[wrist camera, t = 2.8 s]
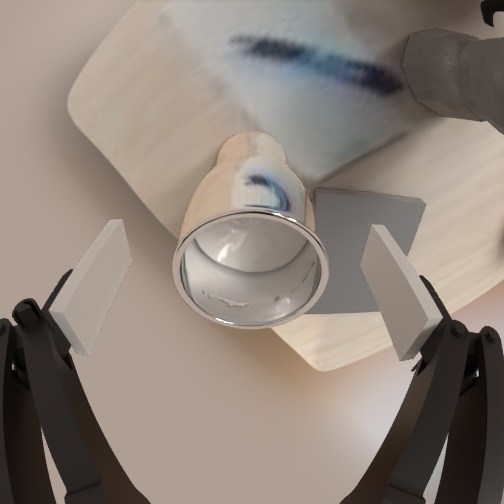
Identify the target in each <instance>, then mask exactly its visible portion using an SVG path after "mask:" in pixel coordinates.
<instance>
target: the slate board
mask: <svg viewBox="0 0 504 504" xmlns="http://www.w3.org/2000/svg"><path fill="white" fill-rule="evenodd" d="M313 205H314V208H315V211H316V214H317V217H318V220H319V224H320V228H321V232H322V236H323V241H324V247H325V250H326V253H327V256H328V260H329V278H328V282H327V285H326V288H325V290H324V292H323V294H322V295H321V297H320V298H319V300H318V301H317V302H316V303H315V304H314V305H313V306H312V307H311V308H310V309H309V310H308V311H307V312H305V313H304V314H330V313H358V312H378V311H380V310H379V307H378V305H377V303H376V300H375V298H374V296H373V293H372V291H371V289H370V287H369V284H368V282H367V280H366V278H365V276H364V274H363V271H362V269H361V267H360V263H361V259H362V256H363V253H364V250H365V246H366V243H367V240H368V236H369V233H370V229H371V225H372V224H375V225H384V226H385V227H386V229H387V230H388V231H389V233H390V234H391V236H392V237H393V238H394V240H395V241H396V243H397V244H398V245H399V247H400V248H401V250H402V251H403V253H404V254H405V256H406V257H407V255H408V253H409V250H410V248H411V245H412V243H413V240H414V237H415V235H416V232H417V229H418V226H419V224H420V221H421V218H422V215H423V212H424V209H425V206H426V204H425V203H424V202H423V201H422V200H421V199H419V198H412V197H404V196H397V195H389V194H380V193H371V192H362V191H352V190H341V189H329V188H316V191H315V198H314V204H313Z"/></svg>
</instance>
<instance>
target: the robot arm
mask: <svg viewBox="0 0 504 504" xmlns="http://www.w3.org/2000/svg"><path fill="white" fill-rule="evenodd" d="M131 263H132V256H131V253H130V249H129V245H128V241H127V236H126V232H125V228H124V224H123V219H112V220H110V221H109V222H108V223H107V224H106V226H105V227H104V228H103V229H102V231H101V232H100V233H99V235H98V236H97V237H96V239H95V240H94V241H93V243H92V244H91V246H90V247H89V248H88V250H87V251H86V253H85V254H84V255H83V257H82V258H81V260H80V261H79V263H78V264H77V266H76V267H75V269H74V270H72V269H70V270H69V271H68V272H67V273H66V274H64V275H63V276H62V278H61V279H60V281H59V282H58V285H57V286H56V287H55V289H54V292H52V293H51V295H50V297H49V298H48V300H47V302H46V303H45V305H44V307H43V308H42V310H40V308H39V306H38V305H37V303H36V301H35V300H34V299H31V298H28V299H24V300H22V301H21V302H20V303H18V304H17V306H15V308H14V310H13V313H12V317H13V318H14V320H15V321H16V323H17V324H18V325H17V326H13V325H12V324H11V323H10V321H9V320H8V319H6V318H2V319H0V504H56V501H55V497H54V494H53V490H52V486H51V482H50V478H49V473H48V469H47V464H46V459H45V453H44V447H43V440H42V432H41V427H42V430H43V433H44V436H45V439H46V442H47V445H48V448H49V450H50V453H51V455H52V458H53V460H54V462H55V465H56V467H57V470H58V472H59V474H60V476H61V478H62V480H63V483H64V485H65V487H66V490H67V493H66V495H65V497H64V499H65V504H151V503H150V502H149V501H148V499H147V498H146V497H145V496H144V495H143V494H141V493H140V492H139V491H138V490H137V489H136V488H135V487H134V485H133V484H132V482H131V481H130V479H129V478H128V476H127V474H126V473H125V471H124V470H123V468H122V466H121V465H120V463H119V461H118V460H117V458H116V456H115V455H114V453H113V451H112V449H111V448H110V446H109V444H108V442H107V440H106V438H105V436H104V434H103V432H102V430H101V428H100V426H99V424H98V422H97V420H96V418H95V416H94V413H93V412H92V409H91V407H90V404H89V402H88V400H87V397H86V395H85V393H84V390H83V387H82V385H81V382H80V380H79V377H78V374H77V371H76V369H75V366H74V363H73V360H72V357H71V355H70V353H69V352H68V351H69V349H70V347H71V346H72V347H73V349H74V350H75V352H76V353H78V354H82V355H87V356H91V353H92V351H93V348H94V345H95V343H96V340H97V338H98V335H99V333H100V331H101V328H102V326H103V323H104V321H105V319H106V316H107V314H108V312H109V309H110V307H111V305H112V303H113V301H114V299H115V296H116V294H117V292H118V290H119V288H120V286H121V284H122V281H123V280H124V277H125V275H126V273H127V271H128V269H129V267H130V265H131ZM360 267H361V269H362V271H363V274H364V276H365V278H366V280H367V282H368V284H369V287H370V289H371V291H372V293H373V296H374V298H375V300H376V303H377V305H378V307H379V310H380V312H381V314H382V317H383V319H384V322H385V324H386V327H387V329H388V332H389V334H390V337H391V339H392V342H393V345H394V347H395V350H396V352H397V355H398V358H399V361H404V360H409V359H413V358H414V357H415V356H416V355H417V353H418V352H419V351H420V353H421V355H422V358H421V359H420V360H419V362H418V363H417V364H416V365H415V366H414V367H413V369H412V370H411V371H414V370H415V369H416V371H415V373H414V376H413V379H412V381H411V384H410V386H409V389H408V391H407V394H406V396H405V398H404V401H403V403H402V405H401V407H400V410H399V412H398V414H397V416H396V418H395V420H394V422H393V424H392V426H391V428H390V430H389V432H388V434H387V436H386V438H385V440H384V442H383V443H382V445H381V447H380V449H379V451H378V452H377V454H376V456H375V458H374V459H373V461H372V463H371V464H370V466H369V468H368V469H367V471H366V472H365V474H364V475H363V477H362V479H361V480H360V482H359V483H358V485H357V486H356V487H355V489H354V490H353V491H352V492H351V493H350V494H349V495H348V496H346V497H345V498H344V499H343V500H342V501H341V502H340V504H425V502H426V500H425V499H424V497H423V493H424V490H425V488H426V486H427V484H428V482H429V480H430V477H431V475H432V473H433V471H434V468H435V466H436V464H437V461H438V459H439V456H440V454H441V451H442V449H443V446H444V443H445V440H446V438H447V435H448V442H447V448H446V454H445V460H444V465H443V470H442V475H441V480H440V484H439V488H438V492H437V496H436V499H435V503H434V504H500V503H501V499H502V493H503V488H504V355H503V350H502V344H501V339H500V337H499V334H498V333H497V331H495V329H493V328H492V327H490V326H485V327H483V328H482V329H481V331H480V332H479V333H473V332H468V329H467V328H466V327H465V325H464V324H462V323H461V322H459V321H457V320H452V319H451V317H450V315H449V313H448V311H447V310H446V308H445V306H444V305H443V303H442V301H441V300H440V298H439V296H438V295H437V293H436V292H435V290H434V288H433V286H432V285H431V283H430V282H429V281H428V280H427V279H426V278H425V277H424V276H422V275H420V276H418V274H417V272H416V271H415V269H414V268H413V266H412V265H411V263H410V262H409V260H408V259H407V257H406V256H405V254H404V253H403V251H402V250H401V248H400V247H399V245H398V244H397V243H396V241H395V240H394V238H393V237H392V236H391V234H390V233H389V231H388V230H387V229H386V227H385V226H384V225H375V224H372V225H371V229H370V233H369V236H368V240H367V243H366V246H365V250H364V253H363V256H362V259H361V263H360ZM12 364H13V365H14V370H12ZM478 370H479V376H478V377H477V374H476V372H477V371H478ZM448 432H449V433H448Z"/></svg>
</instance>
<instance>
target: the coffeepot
mask: <svg viewBox="0 0 504 504" xmlns="http://www.w3.org/2000/svg"><path fill="white" fill-rule="evenodd" d="M481 11H482V15H483V19H484V22H485V23H486V24H488V25H490V26H492V27H494V25H493V14H494V13H495V12H497V11H503V12H504V0H484V1H482V2H481ZM402 67H403V70H404V73H405V76H406V79H407V82H408V84H409V86H410V89H411V90H412V92H413V94H414V97H415V100H416V101H418V102H420V103H421V104H423V105H424V106H426V107H427V108H429V109H431V110H433V111H434V112H436V113H437V114H439V115H440V116H442V117H451V118H459V119H467V120H473V121H479V122H482V121H488V122H489V123H490V124H491V125H492V126H494V127H495V128H496V129H497V130H498V131H499V132H500V133H502V134H503V135H504V38H494V39H486V40H480V39H479V38H477V37H474V36H470V35H466V34H461V33H457V32H452V31H447V30H442V29H437V28H436V29H431V30H426V31H422V32H418V33H414V34H410V37H409V40H408V43H407V45H406V47H405V50H404V56H403V62H402Z"/></svg>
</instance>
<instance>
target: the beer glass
mask: <svg viewBox="0 0 504 504" xmlns="http://www.w3.org/2000/svg"><path fill="white" fill-rule="evenodd" d="M172 274H173V280H174V284H175V286H176V288H177V291H178V292H179V294H180V296H181V297H182V299H183V300H184V301H185V302H186V303H187V305H188V306H189V307H190V308H192V309H193V310H194V311H195V312H197V313H198V314H199V315H201V316H203V317H204V318H206V319H208V320H210V321H213V322H215V323H218V324H221V325H224V326H228V327H232V328H239V329H264V328H270V327H275V326H278V325H282V324H285V323H287V322H290V321H292V320H294V319H296V318H298V317H299V316H301V315H303V314H304V313H305V312H307V311H308V310H309V309H310V308H311V307H312V306H313V305H314V304H315V303H316V302H317V301H318V300H319V298H320V297H321V295H322V294H323V292H324V290H325V288H326V285H327V282H328V278H329V260H328V256H327V253H326V250H325V247H324V241H323V236H322V232H321V228H320V224H319V220H318V217H317V214H316V211H315V208H314V205H313V203H312V200H311V198H310V196H309V194H308V192H307V191H306V189H305V187H304V185H303V184H302V182H301V181H300V180H299V178H298V177H297V176H296V175H295V174H294V172H293V171H292V170H291V169H290V168H289V167H287V161H286V156H285V153H284V150H283V148H282V147H281V145H280V144H279V143H278V142H277V141H276V140H275V139H274V138H273V137H271V136H269V135H267V134H265V133H262V132H258V131H245V132H241V133H238V134H236V135H234V136H232V137H231V138H229V139H228V140H227V141H226V142H225V143H224V144H223V145H222V147H221V149H220V151H219V153H218V156H217V165H216V166H215V167H214V168H213V169H212V170H211V171H210V172H209V173H208V174H207V175H206V176H205V178H204V179H203V180H202V181H201V183H200V184H199V186H198V187H197V189H196V191H195V193H194V195H193V197H192V199H191V201H190V203H189V206H188V208H187V211H186V214H185V217H184V220H183V223H182V227H181V231H180V235H179V240H178V245H177V248H176V251H175V253H174V257H173V262H172Z"/></svg>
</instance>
